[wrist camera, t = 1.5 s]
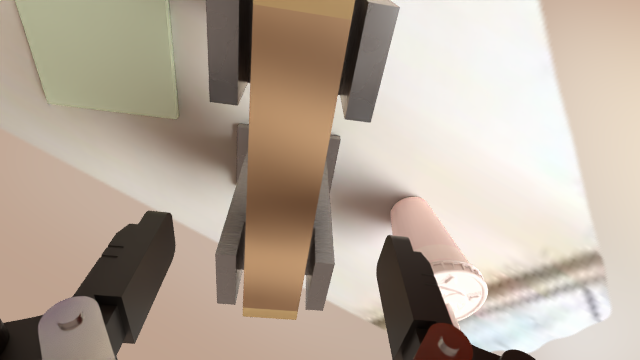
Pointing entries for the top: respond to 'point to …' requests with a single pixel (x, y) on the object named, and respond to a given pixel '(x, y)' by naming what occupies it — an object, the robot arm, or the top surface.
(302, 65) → the rail
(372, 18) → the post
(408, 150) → the top surface
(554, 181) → the top surface
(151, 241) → the robot arm
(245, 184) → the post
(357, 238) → the top surface
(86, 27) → the mat
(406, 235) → the smoothie
